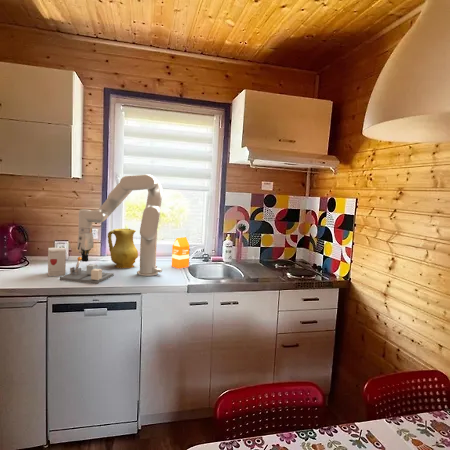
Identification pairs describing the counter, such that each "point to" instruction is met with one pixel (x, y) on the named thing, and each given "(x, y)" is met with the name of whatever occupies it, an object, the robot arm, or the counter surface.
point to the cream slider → (96, 274)
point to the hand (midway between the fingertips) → (84, 261)
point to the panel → (84, 276)
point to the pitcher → (123, 248)
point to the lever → (77, 264)
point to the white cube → (90, 268)
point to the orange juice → (180, 253)
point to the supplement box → (56, 261)
